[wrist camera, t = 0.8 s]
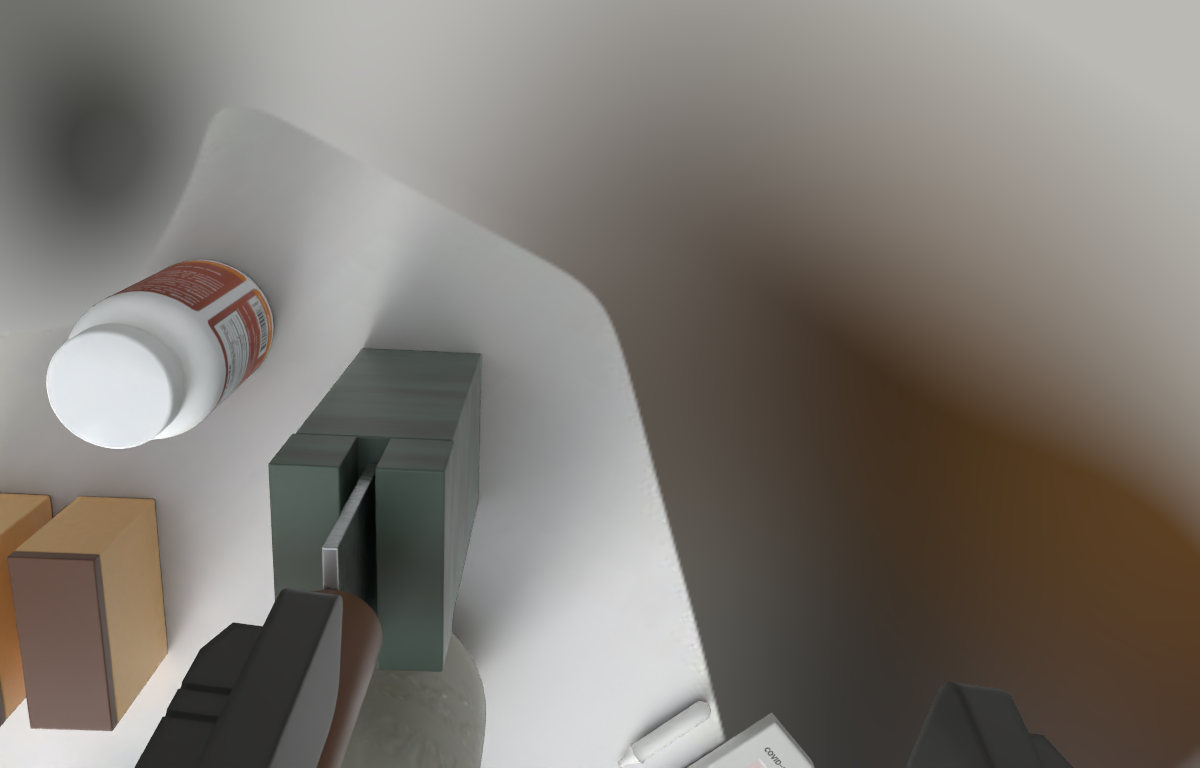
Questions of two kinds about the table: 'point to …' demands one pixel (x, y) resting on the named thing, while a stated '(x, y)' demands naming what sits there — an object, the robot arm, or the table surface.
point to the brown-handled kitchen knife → (353, 609)
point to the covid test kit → (726, 744)
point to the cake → (78, 608)
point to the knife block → (389, 490)
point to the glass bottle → (422, 717)
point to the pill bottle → (159, 354)
